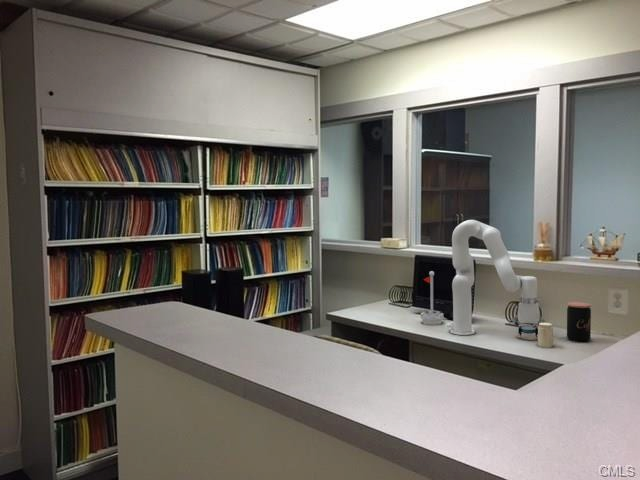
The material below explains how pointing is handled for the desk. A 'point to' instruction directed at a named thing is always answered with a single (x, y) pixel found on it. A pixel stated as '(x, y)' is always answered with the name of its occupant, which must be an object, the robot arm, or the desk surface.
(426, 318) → the flag stand
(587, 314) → the coffee jar
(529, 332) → the lid
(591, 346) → the desk surface
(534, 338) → the coaster
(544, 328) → the jar
